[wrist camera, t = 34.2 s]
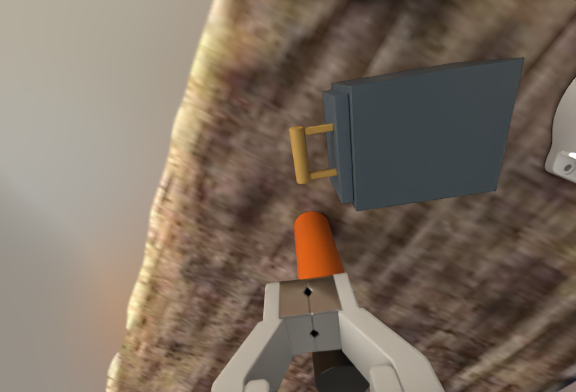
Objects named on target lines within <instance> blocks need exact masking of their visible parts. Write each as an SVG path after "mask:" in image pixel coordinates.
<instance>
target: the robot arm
mask: <svg viewBox="0 0 576 392" xmlns="http://www.w3.org/2000/svg"><path fill="white" fill-rule="evenodd" d="M545 170H546V171H547V172H549V173H552V174H554V175H556V176H559V177H561V178H564V179H566V180H568V181H571V182H573V183H576V77H575V79H574V80H573V81H572V82H571V84H570V85H569V87H568V88H567V90H566V91H565V93H564V95H563V97H562V99H561V101H560V103H559V105H558V107H557V110H556V113H555V116H554V121H553V128H552V147H551V149H550V152H549V154H548V157H547V159H546V162H545ZM338 349H342V351H343V352H344V353H345V355H346V356H347V357H348V358H349V359H350V361H351V362H352V363H353V364H354V365H355V367H356V368H357V369H358V370H359V371H360V373H361V374H362V375H363V376H364V377H365V379H366V380H367V381H368V382H369V383H370V392H445V391H444V389H443V387H442V385H441V383H440V382H439V380H438V378H437V376H436V374H435V372H434V370H433V368H432V366H431V364H430V362H429V360H428V359H427V357H426V356H424V355H423V354H422V353H420V352H419V351H418V350H417V349H415V348H414V347H413V346H412V345H410V344H409V343H408V342H406V341H405V340H404V339H403V338H401V337H400V336H399V335H398V334H396V333H395V332H394V331H393V330H391V329H390V328H389V327H387V326H386V325H385V324H384V323H382V322H381V321H380V320H379V319H377V318H376V317H375V316H373V315H372V314H371V313H370V312H368V311H367V310H366V309H365V308H359V305H358V303H357V300H356V297H355V294H354V291H353V288H352V285H351V282H350V279H349V276H348V274H347V273H340V274H333V275H327V276H320V277H314V278H307V279H299V280H291V281H282V282H276V283H267V284H266V287H265V301H264V315H263V321H261V322H258V324H257V325H256V326H255V328H254V329H253V330H252V332H251V333H250V335H249V336H248V337H247V339H246V340H245V341H244V343H243V344H242V345H241V347H240V348H239V349H238V351H237V352H236V353H235V355H234V356H233V357H232V359H231V360H230V361H229V363H228V364H227V365H226V367H225V368H224V369H223V371H222V372H221V373H220V375H219V376H218V377H217V379H216V380H215V381H214V383H213V385H212V390H211V392H277V391H278V388H279V386H280V384H281V382H282V380H283V377H284V375H285V373H286V371H287V369H288V367H289V364H290V362H291V360H292V358H293V355H298V354H304V353H311V352H317V351H328V350H338Z"/></svg>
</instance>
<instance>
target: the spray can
mask: <svg viewBox="0 0 576 392" xmlns="http://www.w3.org/2000/svg"><path fill="white" fill-rule="evenodd" d="M294 232H295V243H296V254H297V266H298V277H299V279H307V278H314V277H320V276H327V275H333V274H340V273H345V272H344V269H343V266H342V263H341V260H340V257H339V253H338V250H337V247H336V244H335V241H334V238H333V235H332V232H331V229H330V226H329V223H328V220H327V218H326V217H325V216H324V215H323V214H321V213H319V212H313V211H312V212H306V213H303V214H302V215H300V216H299V217H298V218H297V220H296V221H295V224H294ZM310 354H311V355H312V357H313V366H314V375H315V384H316V388H317V390H318V391H319V392H364V391H365V390H366V389H367V388H368V387H369V386H370V383H369V382H368V381H367V380H366V379H365V377H364V376H363V375H362V374H361V373H360V371H359V370H358V369H357V368H356V367H355V365H354V364H353V363H352V362H351V361H350V359H349V358H348V357H347V356H346V355H345V353H344V352H343V351H342V349H338V350H328V351H317V352H311V353H310Z"/></svg>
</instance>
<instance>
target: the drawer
mask: <svg viewBox="0 0 576 392" xmlns="http://www.w3.org/2000/svg"><path fill="white" fill-rule="evenodd" d="M322 94H323V105H324V116H325V125H319V126H313V127H306V128H304V126H294V127H291V128H289V132H290V139H291V145H292V152H293V159H294V165H295V172H296V179H297V183H299V184H306V183H309V182H310V180H311V179H316V178H323V177H329V176H330V180H331V182H332V184H333V186H334V188H335V190H336V192H337V194H338V197H339V199H340V201H341V203H342V204H344V203H351V202H354V197H353V177H352V176H353V162H352V141H351V121H350V100H349V95H348V94H347V93H343V92H340V91H336V90H328V91H323V92H322ZM322 132H326V138H327V150H328V161H329V169H328V170H321V171H315V172H310V171H309V163H308V155H307V147H306V139H305V135H310V134H316V133H322Z"/></svg>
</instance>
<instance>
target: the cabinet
mask: <svg viewBox="0 0 576 392" xmlns="http://www.w3.org/2000/svg"><path fill="white" fill-rule="evenodd" d="M523 62H524V58H509V59H495V60H481V61H467V62H455V63H449V64H443V65H437V66H431V67H426V68H420V69H414V70H408V71H402V72H396V73H390V74H384V75H378V76H372V77H366V78H360V79H354V80H348V81H342V82H336V83H332V90H336V91H340V92H343V93H347V94H348V95H349V100H350V121H351V141H352V162H353V176H352V177H353V197H354V202H352V204H353V206H354V208H355V209H356V211H362V210H368V209H375V208H382V207H389V206H395V205H402V204H409V203H416V202H423V201H429V200H436V199H443V198H450V197H457V196H463V195H470V194H477V193H484V192H491V191H496V188H497V183H498V179H499V174H500V169H501V165H502V160H503V155H504V151H505V146H506V141H507V137H508V132H509V127H510V123H511V118H512V113H513V109H514V104H515V99H516V94H517V90H518V85H519V80H520V76H521V71H522V66H523Z"/></svg>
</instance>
